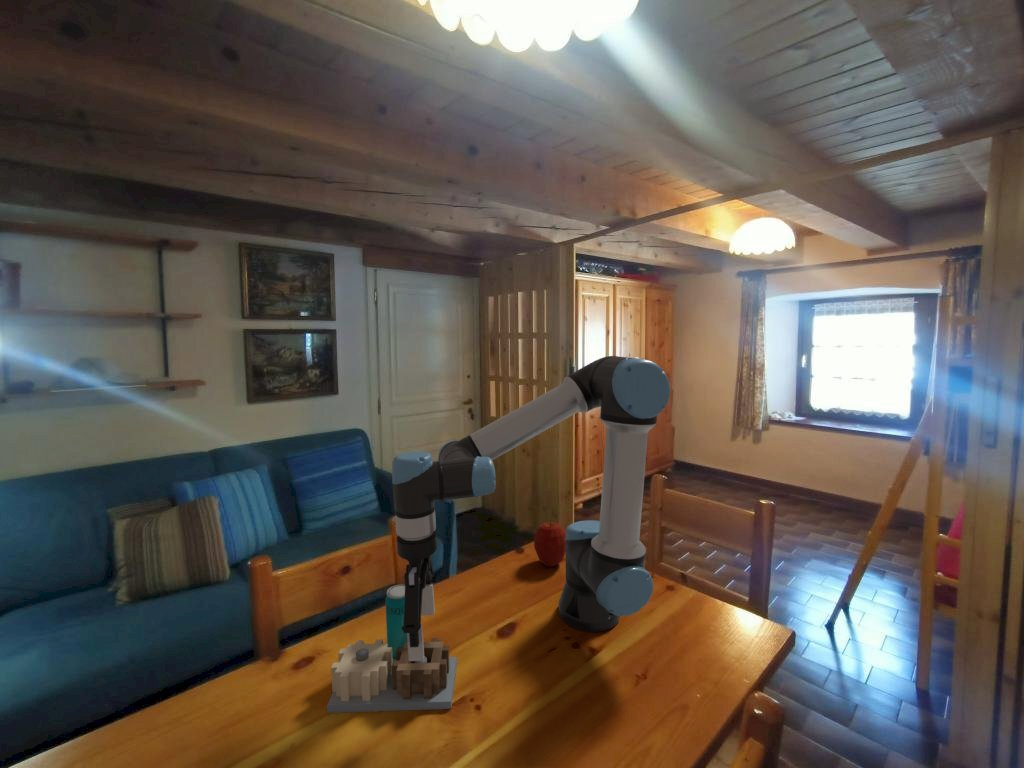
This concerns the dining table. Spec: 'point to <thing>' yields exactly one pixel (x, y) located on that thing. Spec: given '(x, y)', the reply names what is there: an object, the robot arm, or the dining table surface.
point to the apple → (550, 543)
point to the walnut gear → (421, 671)
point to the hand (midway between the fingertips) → (422, 635)
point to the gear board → (398, 700)
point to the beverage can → (395, 617)
